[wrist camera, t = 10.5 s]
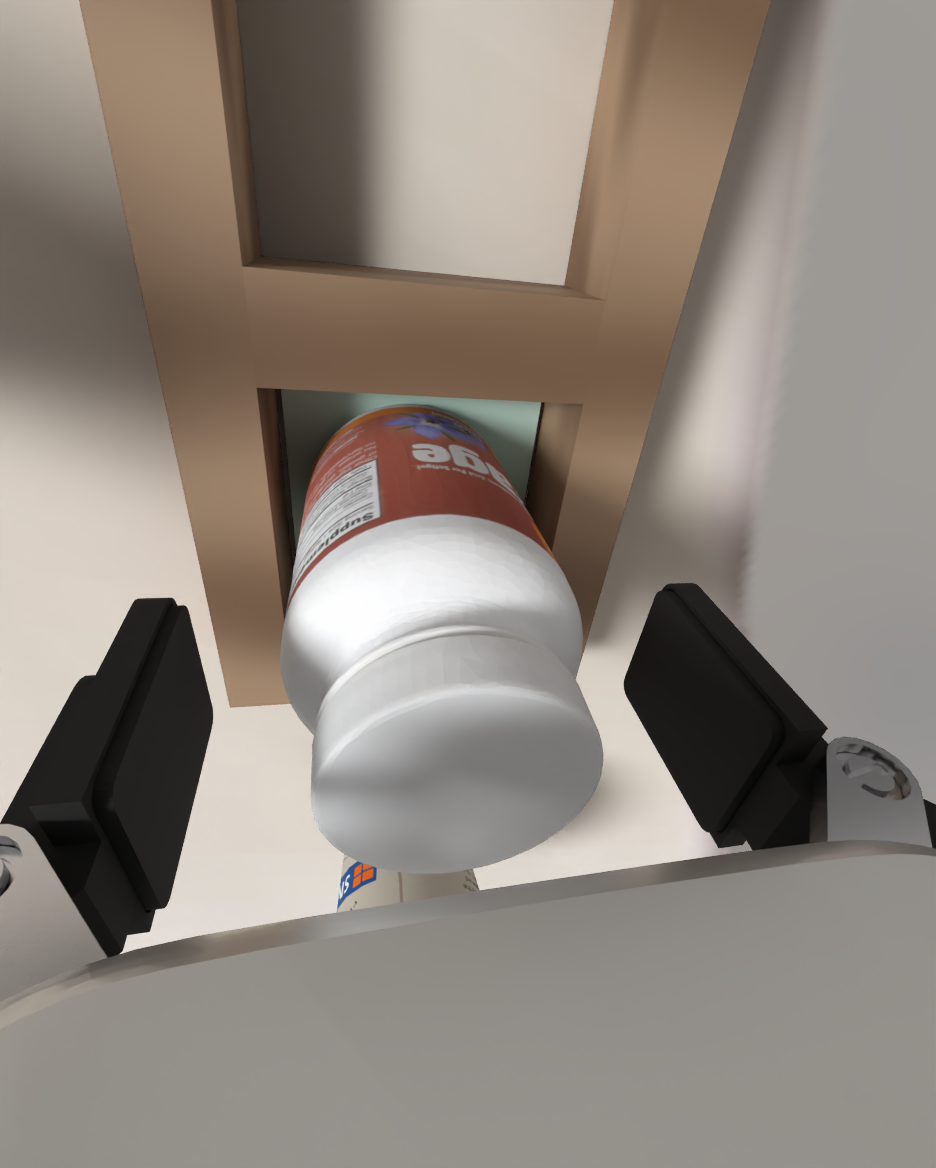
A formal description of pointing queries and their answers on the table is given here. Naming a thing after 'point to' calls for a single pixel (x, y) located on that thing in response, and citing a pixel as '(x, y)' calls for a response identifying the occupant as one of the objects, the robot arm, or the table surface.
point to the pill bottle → (433, 652)
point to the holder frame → (406, 300)
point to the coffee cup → (396, 885)
